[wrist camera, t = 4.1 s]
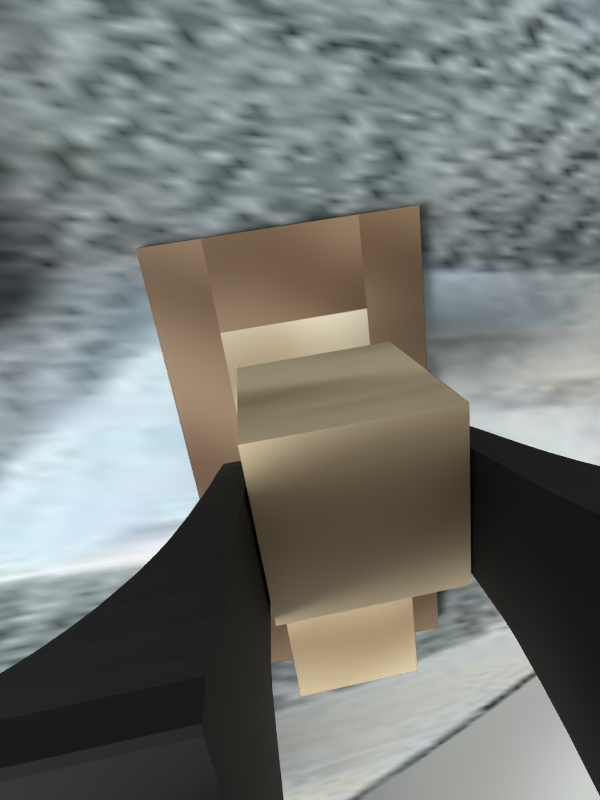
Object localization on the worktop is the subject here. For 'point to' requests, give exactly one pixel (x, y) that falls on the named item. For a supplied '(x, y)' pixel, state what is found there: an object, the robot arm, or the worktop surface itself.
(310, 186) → the worktop surface
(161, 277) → the board
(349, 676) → the pillar
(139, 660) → the robot arm
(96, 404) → the worktop surface
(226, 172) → the worktop surface
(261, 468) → the tan wooden cube
